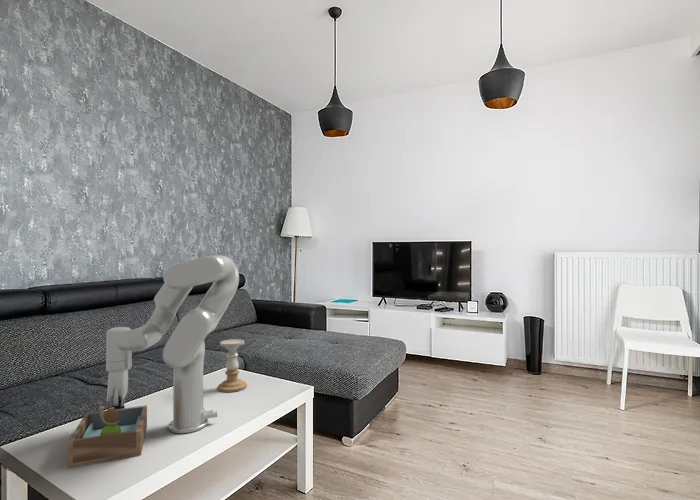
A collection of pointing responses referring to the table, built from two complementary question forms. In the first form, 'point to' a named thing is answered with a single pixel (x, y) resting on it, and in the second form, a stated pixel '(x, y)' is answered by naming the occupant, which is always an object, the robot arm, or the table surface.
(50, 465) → the table surface
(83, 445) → the box
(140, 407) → the tray
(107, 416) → the snail figurine
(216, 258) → the robot arm
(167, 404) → the table surface
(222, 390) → the candle holder
